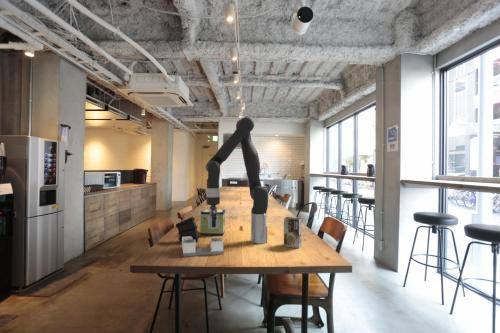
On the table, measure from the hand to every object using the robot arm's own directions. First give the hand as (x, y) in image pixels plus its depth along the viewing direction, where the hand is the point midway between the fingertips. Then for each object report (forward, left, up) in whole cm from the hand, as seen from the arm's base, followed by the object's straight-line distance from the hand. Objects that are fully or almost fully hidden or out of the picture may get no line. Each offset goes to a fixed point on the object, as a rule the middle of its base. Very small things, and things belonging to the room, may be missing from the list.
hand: (213, 225), depth 148 cm
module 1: (+14, +2, -11) cm, 18 cm away
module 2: (0, 0, -1) cm, 1 cm away
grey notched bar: (+6, +12, -11) cm, 18 cm away
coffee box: (-45, +9, -12) cm, 47 cm away
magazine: (+14, -11, -12) cm, 21 cm away
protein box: (-3, -28, -12) cm, 30 cm away
